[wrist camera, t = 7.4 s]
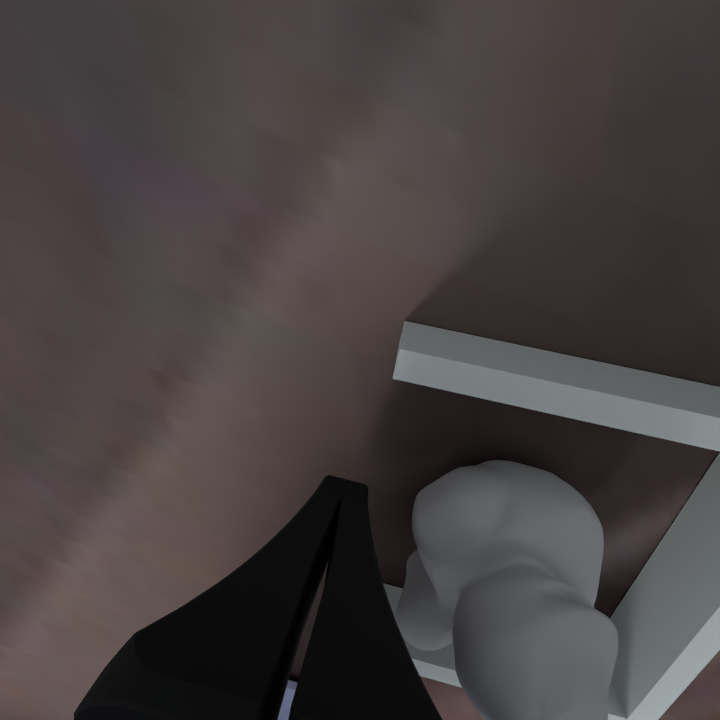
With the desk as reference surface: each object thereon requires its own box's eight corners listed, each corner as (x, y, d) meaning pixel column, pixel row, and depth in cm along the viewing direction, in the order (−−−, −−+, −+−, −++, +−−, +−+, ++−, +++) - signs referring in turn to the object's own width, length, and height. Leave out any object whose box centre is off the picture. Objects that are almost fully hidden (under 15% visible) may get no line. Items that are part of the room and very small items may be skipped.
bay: (607, 657, 15) (641, 738, 13) (344, 586, 16) (331, 650, 14) (788, 401, 10) (890, 454, 8) (404, 320, 11) (399, 349, 9)
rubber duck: (610, 510, 13) (871, 928, 5) (452, 587, 15) (481, 951, 8) (509, 398, 12) (654, 713, 4) (359, 499, 14) (288, 813, 7)
